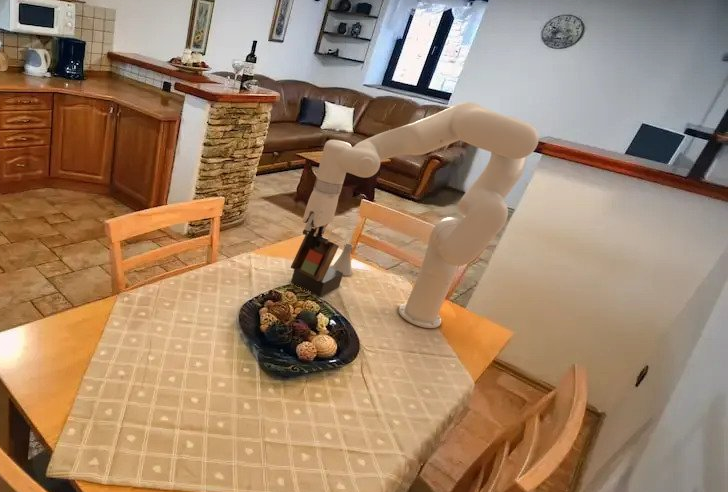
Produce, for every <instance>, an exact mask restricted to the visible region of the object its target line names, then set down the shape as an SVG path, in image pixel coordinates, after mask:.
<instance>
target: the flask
mask: <svg viewBox="0 0 728 492" xmlns="http://www.w3.org/2000/svg"><path fill="white" fill-rule="evenodd" d="M352 249H354V245H353V244H351V243H348V242H347V243H345V242H344V245H343V250H342V252H341V254H340V256H339V257H338V258H337V259H336V261H335V262H334V263H333V265H332V266H331V268H333V269H335V270H337V271H339V272H342V273H343V275H342V276H351V274H352V272H353V271H352V258H351V256H352Z"/></svg>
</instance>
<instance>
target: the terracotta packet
mask: <svg viewBox="0 0 728 492" xmlns="http://www.w3.org/2000/svg"><path fill="white" fill-rule="evenodd" d="M324 257H325V256H324V255H322V254H320V253H318V252H316V251H314V250H311V249H310V250H309V252H308V254H307V256H306V258H305V259H306V260H308V261H310V262H313V263H315V264H317V265H319V266H320V265H321V263H322V261H323V259H324Z"/></svg>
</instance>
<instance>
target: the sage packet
mask: <svg viewBox="0 0 728 492" xmlns="http://www.w3.org/2000/svg"><path fill="white" fill-rule="evenodd" d="M319 267H320V266H319V265H317V264H315V263H313V262H310V261H308V260H306V259H305V261H304V263H303V265H302V267H301V270H303V271H305V272H307V273H309V274H311V275H314V276H316V274H317V272H318V269H319Z"/></svg>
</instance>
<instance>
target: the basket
mask: <svg viewBox="0 0 728 492" xmlns="http://www.w3.org/2000/svg"><path fill="white" fill-rule="evenodd" d="M307 232H308V230H305V228H304V229H303V230H302V235H304V237H303V240H302V242H301V243H300V246H299V248H298V250H297V252H296V255H295V257H294V259H293V261H292V263H291V264H290V265H291V266H290V267H289V268H290V269H292V270H294V269H295V270H297V271H299V272H301V273H303V274H305V275H307V276H309V277H311V278H313V279H315V280H317V281H320V282H322V281H323V279H324V277H325V274H326V272H327V270H328V268H329V267H331V264H332V262H333V260H334V258H335V255H336V253H337V251H338V249H339V248H340V245H338V244H337V243H334V242H332V241H330V240H329V238H327V237H324V236H323V235H322V236H320V235H318V234H317V236H318V239H317V240H318V241H320V242H321V243H320V246H319V247H316V246H315V249H312V248H310V247H307V246H306V245H305V243H306V239H307V235H308V233H307ZM310 249H311V250H314V251H316V252H318V253H320V254H322V255H324V256H325V257H324V259H323V261H322V263H321V265H320V267H319V269H318V272H317V274H316V276H314V275H311V274H309V273H307V272H305V271H303V270H301V267H302V265H303V263H304V261H305V258H306V256H307V254H308V252H309V250H310Z"/></svg>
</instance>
